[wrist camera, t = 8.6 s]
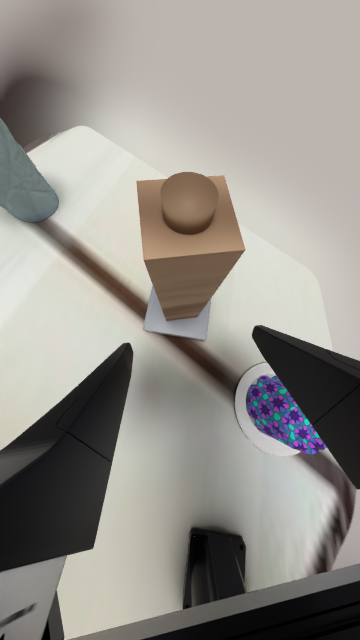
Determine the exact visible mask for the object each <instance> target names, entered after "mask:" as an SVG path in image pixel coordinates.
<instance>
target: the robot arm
mask: <svg viewBox="0 0 360 640" xmlns="http://www.w3.org/2000/svg"><path fill="white" fill-rule="evenodd" d="M252 338H253V340H254V341H255V343H256V345H257V347H258V349H259V350H260V352H261V354H262V355H263V357H264V358H265V360H266V361H267V363H268V364H269V366H270V367H271V368H272V370H273V371H274V373H275V374H276V375H277V377H278V378H279V380H280V381H281V383H282V384H283V385H284V387H285V388H286V390H287V391H288V393H289V394H290V395H291V397H292V398H293V400H294V401H295V402H296V404H297V405H298V407H299V408H300V410H301V411H302V412H303V414H304V415H305V417H306V418H307V420H308V421H309V422H310V424H311V425H312V427H313V428H314V430H315V431H316V432H317V434H318V435H319V437H320V438H321V440H322V441H323V442H324V444H325V445H326V447H327V448H328V450H329V451H330V452H331V454H332V455H333V457H334V458H335V459H336V461H337V462H338V464H339V465H340V467H341V468H342V469H343V471H344V472H345V474H346V475H347V477H348V478H349V479H350V481H351V482H352V483H353V485H354V486H355V487H356V488H357V489H360V361H358V360H355V359H352V358H349V357H347V356H343V355H341V354H338V353H335V352H333V351H330V350H327V349H324V348H322V347H319V346H316V345H314V344H311V343H308V342H306V341H303V340H300V339H297V338H295V337H292V336H289V335H287V334H284V333H281V332H278V331H276V330H273V329H270V328H268V327H265V326H262V325H257V326H255V327H254V329H253V333H252ZM132 362H133V350H132V347H131V345H130V343H123V344H122V345H121V346H120V347H119V348H118V349H117V350H115V351H114V352H113V353H112V354H111V355H110V356H109V357H108V358H107V359H106V360H105V361H104V362H103V363H101V364H100V365H99V366H98V367H97V368H96V369H95V370H94V371H93V372H92V373H91V374H90V375H89V376H87V377H86V378H85V379H84V380H83V381H82V382H81V383H80V384H79V385H78V386H77V387H76V388H74V389H73V390H72V391H71V392H70V393H69V394H68V395H67V396H66V397H65V398H63V399H62V400H61V401H60V402H59V403H58V404H57V405H55V406H54V407H53V408H52V409H51V410H50V411H48V412H47V413H46V414H45V415H44V416H42V417H41V418H40V419H39V420H38V421H36V422H35V423H34V424H33V425H32V426H30V427H29V428H28V429H27V430H26V431H24V432H23V433H22V434H21V435H20V436H18V437H17V438H16V439H15V440H14V441H12V442H11V443H10V444H9V445H7V446H6V447H5V448H3V449H2V450H1V451H0V640H64V632H63V626H62V620H61V614H60V607H59V601H58V595H57V587H58V583H59V580H60V577H61V573H62V570H63V567H64V564H65V560H66V557H67V555H70V554H74V553H78V552H82V551H86V550H90V549H93V547H94V543H95V539H96V535H97V530H98V525H99V521H100V516H101V512H102V507H103V502H104V498H105V493H106V489H107V484H108V480H109V475H110V470H111V466H112V461H113V456H114V452H115V447H116V442H117V438H118V433H119V429H120V424H121V420H122V415H123V410H124V406H125V401H126V397H127V392H128V388H129V383H130V378H131V372H132ZM194 536H195V537H194ZM240 544H241V545H240ZM245 553H246V546H245V543H244V540H243V538H242V537H240V536H234V535H229V534H223V533H217V532H211V531H205V530H200V529H192V530H191V531H190V537H189V546H188V556H187V565H186V574H185V583H184V592H183V610H180V611H176V612H173V613H169V614H165V615H161V616H157V617H153V618H150V619H146V620H142V621H138V622H134V623H130V624H127V625H123V626H119V627H115V628H111V629H108V630H104V631H100V632H96V633H92V634H88V635H85V636H81V637H77V638H73V639H69V640H360V564H356V565H352V566H349V567H344V568H341V569H337V570H333V571H329V572H325V573H321V574H318V575H314V576H310V577H306V578H302V579H299V580H295V581H291V582H287V583H283V584H279V585H276V586H272V587H268V588H264V589H260V590H257V591H253V592H249V593H247V591H246V587H245V584H244V580H245Z"/></svg>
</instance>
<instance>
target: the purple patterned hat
mask: <svg viewBox="0 0 360 640" xmlns="http://www.w3.org/2000/svg"><path fill="white" fill-rule="evenodd" d="M265 374H275V373H274V371H273V370H272V368H271V367H270V366H269V364H268V363H261V364H258V365H256V366H254V367H252V368H251V369H250V370H248V371H247V372H246V373H245V374H244V376H243V377H242V378H241V380H240V382H239V384H238V387H237V390H236V395H235V410H236V415H237V419H238V422H239V424H240V427H241V429H242V431H243V432H244V434H245V435H246V437H247V438H248V439H249V440H250V441H251V443H252V444H253V445H255V446H256V447H257V448H258V449H260V450H261V451H263V452H265V453H267V454H270V455H273V456H279V457H287V456H292V455H295V454H298V453H299V452H302V453H305V454H310V455H313V454H316V453H317V452H318V450H319V449H320V450H324V449H325V448H327V447H326V445H325V444H324V442H323V441H322V440H321V438H320V437H319V435H318V434H317V432H316V431H315V430H314V428H313V427H312V425H311V424H310V422H309V421H308V420H307V418H306V417H305V415H304V414H303V412H302V411H301V410H300V408H299V407H298V405H297V404H296V402H295V401H294V400H293V398H292V397H291V395H290V394H289V393H288V391H287V390H286V388H285V387H284V385H283V384H282V383H281V381H280V380H279V378H278V377H277V376H274V377H272V378H269V377H267V376H262V375H265ZM275 375H276V374H275ZM260 376H261V377H260ZM258 377H260V378H259V379H258V380H257V384H255V385H251V383H252V382H253V381H254V380H255V379H256V378H258ZM250 385H251V387H250ZM249 387H250V388H249ZM248 388H249V390H248ZM247 391H248V396H249V399H250V400H249V402H248V404H247V409H246V394H247ZM247 411H248V413H249V415H250V416H251V417H252V418H254V420H255V426H256V427H257V428H258V429H257V428H256V427H255V426H254V425H253V423H252V422H251V420H250V418H249V416H248V413H247ZM259 430H260V431H262V432H263V433H265V434H267V435H269V436H271V437H269V436H266V435H265V434H263V433H261V432H260V431H259Z"/></svg>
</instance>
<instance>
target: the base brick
mask: <svg viewBox="0 0 360 640" xmlns="http://www.w3.org/2000/svg"><path fill="white" fill-rule="evenodd" d="M210 304H211V299H210V300H209V302H208V303H207V304H206V306H205V307H204V309H203V310H202V311H201V313H200V314H199V316H198V317H196V318H188V319H180V320H173V321H166V319H165V316H164V314H163V311H162V308H161V306H160V303H159V300H158V297H157V295H156V292H155V289H154V287H152V291H151V296H150V300H149V304H148V309H147V313H146V317H145V322H144V326H143V330H145V331H147V332H152V333H158V334H164V335H170V336H176V337H182V338H188V339H194V340H200V341H204V340H206V338H207V330H208V321H209V313H210Z"/></svg>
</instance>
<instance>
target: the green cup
mask: <svg viewBox="0 0 360 640" xmlns="http://www.w3.org/2000/svg"><path fill="white" fill-rule="evenodd" d="M0 206H2V207H3V208H6V209H7V210H8V211H9V212H10V213H11V214H13V215H14V216H15V217H17V218H19V219H20V220H22V221H25V222H38V221H42V220H44V219H47V218H48V217H50V216H51V215H52V214H53V213H55V210H57V207H58V197H57V195H56V194H55V192H54V191H53V189H52V188H51V187H50V185H49V184H48V183H47V181H46V180H45V179H44V178H43V176H42V175H41V173H39V172H38V170H37V168H36V167H35V165H34V164H33V162H32V161H31V160H30V158H29V157H28V155H27V154H26V153H25V151H24V150H23V148H22V147H21V146H20V145H19V144H18V143H17V142H16V141H15V140H14V138H13V137H12V135H11V133H10V131H9V129H8V128H7V126H6V125H5V124H4V122H3V121H2V120H1V118H0Z"/></svg>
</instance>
